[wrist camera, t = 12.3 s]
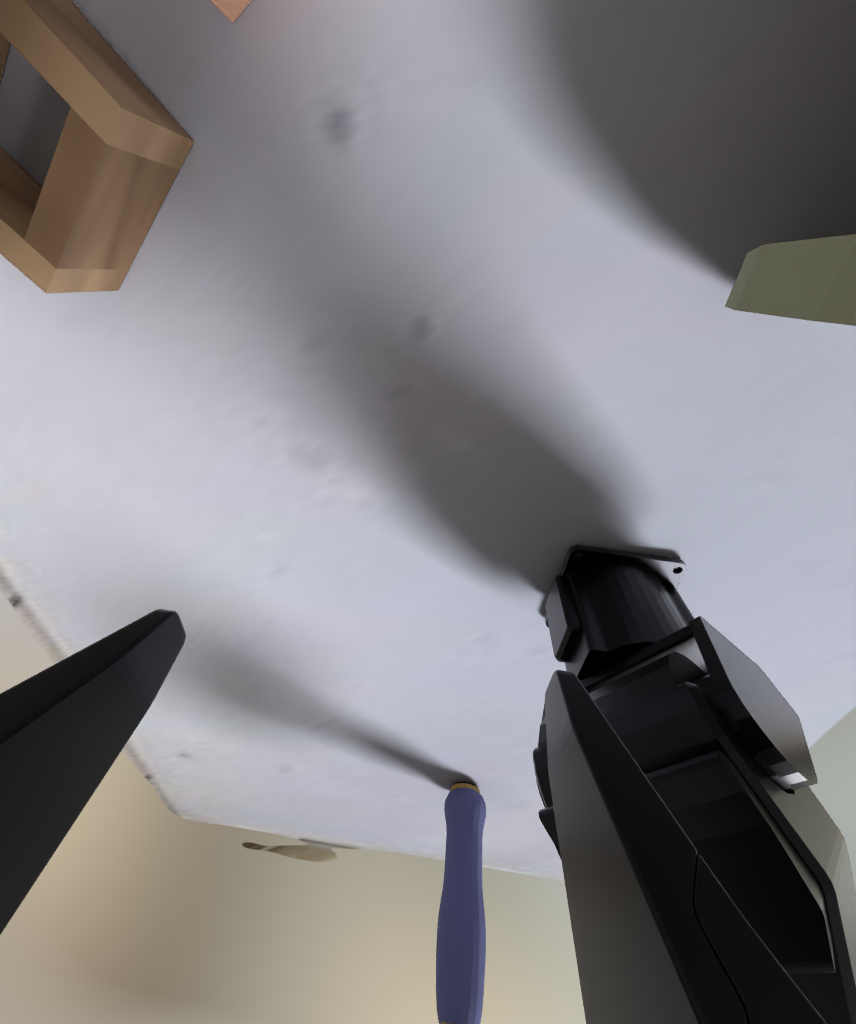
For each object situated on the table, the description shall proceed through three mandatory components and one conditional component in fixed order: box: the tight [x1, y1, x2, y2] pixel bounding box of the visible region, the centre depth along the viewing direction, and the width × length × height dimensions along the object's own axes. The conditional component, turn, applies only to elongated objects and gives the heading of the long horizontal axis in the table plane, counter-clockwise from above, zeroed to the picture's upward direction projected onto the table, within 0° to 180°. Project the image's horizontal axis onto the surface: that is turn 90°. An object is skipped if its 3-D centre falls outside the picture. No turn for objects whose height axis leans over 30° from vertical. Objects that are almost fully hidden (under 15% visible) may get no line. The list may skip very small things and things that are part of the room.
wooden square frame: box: [0, 0, 194, 293], centre depth 14 cm, size 7×7×4 cm
